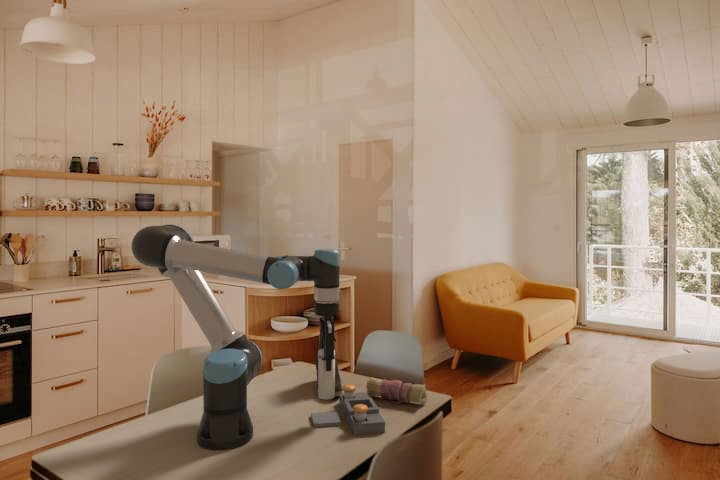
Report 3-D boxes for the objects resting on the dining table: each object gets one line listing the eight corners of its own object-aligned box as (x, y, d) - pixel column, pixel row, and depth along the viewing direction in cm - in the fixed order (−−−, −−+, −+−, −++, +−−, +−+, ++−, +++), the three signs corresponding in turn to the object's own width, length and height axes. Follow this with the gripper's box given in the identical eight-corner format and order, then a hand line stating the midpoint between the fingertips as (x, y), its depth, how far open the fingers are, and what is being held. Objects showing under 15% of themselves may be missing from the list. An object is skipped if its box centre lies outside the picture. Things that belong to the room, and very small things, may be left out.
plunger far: (343, 404, 159) (343, 389, 159) (341, 399, 163) (341, 385, 163) (356, 403, 160) (356, 388, 160) (354, 398, 164) (354, 384, 164)
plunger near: (354, 426, 142) (354, 410, 142) (351, 420, 146) (351, 404, 146) (368, 425, 143) (369, 409, 143) (365, 419, 147) (365, 403, 147)
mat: (314, 427, 146) (314, 423, 146) (311, 416, 153) (311, 413, 153) (341, 425, 147) (341, 421, 147) (336, 414, 155) (336, 411, 155)
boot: (321, 402, 165) (321, 342, 164) (309, 378, 188) (310, 326, 187) (346, 400, 167) (347, 341, 166) (332, 377, 190) (333, 325, 189)
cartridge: (336, 398, 148) (336, 349, 147) (319, 400, 147) (319, 350, 146) (333, 392, 153) (333, 344, 152) (316, 393, 152) (316, 345, 151)
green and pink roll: (430, 396, 168) (375, 387, 176) (427, 379, 165) (372, 370, 173) (423, 413, 162) (367, 402, 170) (420, 395, 159) (364, 385, 167)
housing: (354, 434, 141) (354, 420, 141) (339, 403, 164) (339, 391, 164) (384, 432, 143) (385, 418, 143) (366, 401, 166) (366, 389, 166)
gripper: (344, 306, 140) (344, 387, 142) (334, 295, 158) (333, 367, 159) (318, 307, 139) (318, 389, 140) (310, 296, 157) (310, 369, 158)
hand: (326, 377), depth 150 cm, fingers closed on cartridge, 5 cm apart
